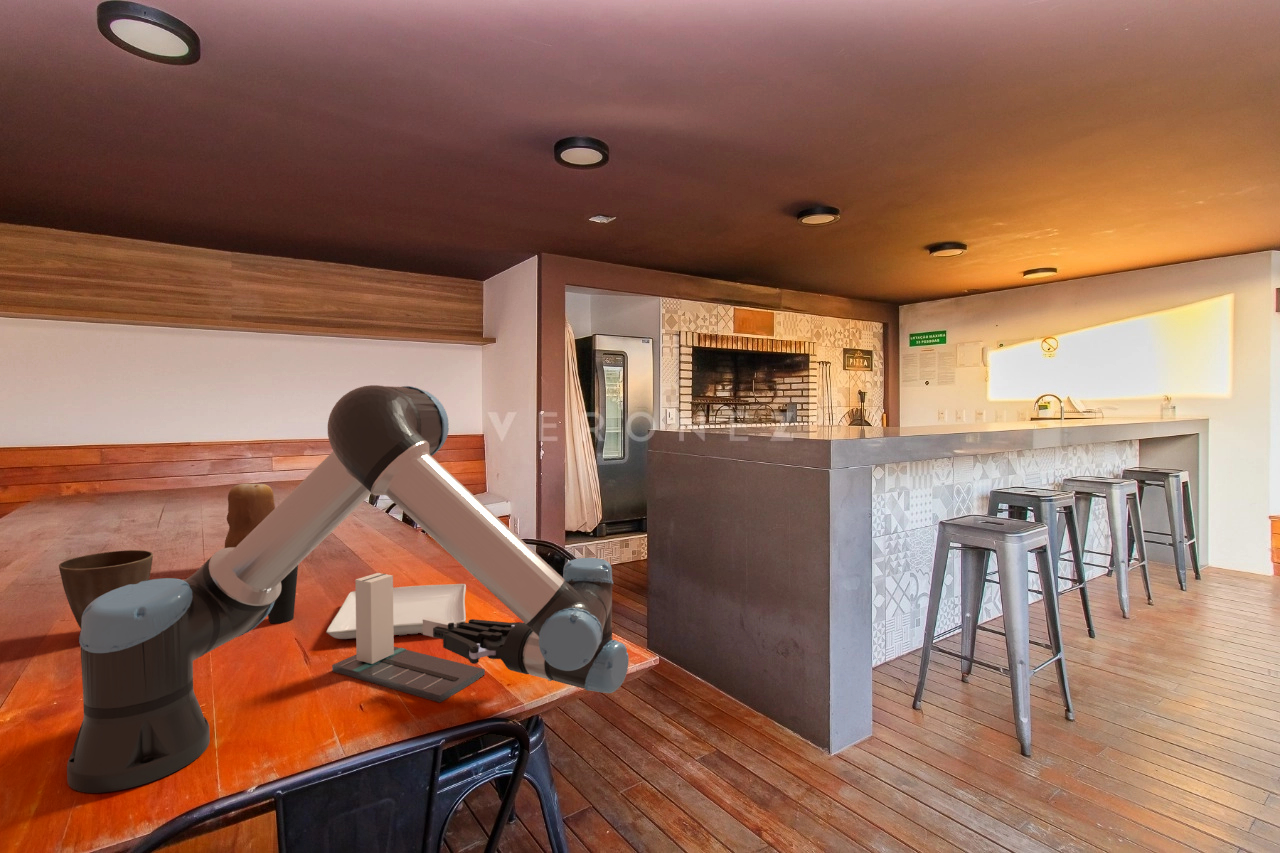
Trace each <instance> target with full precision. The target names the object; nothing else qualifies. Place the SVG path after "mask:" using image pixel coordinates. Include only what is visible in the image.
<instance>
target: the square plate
mask: <svg viewBox="0 0 1280 853" xmlns="http://www.w3.org/2000/svg"><path fill="white" fill-rule="evenodd" d="M466 591H467V585H466V583H455V584H453V583H451V584H448V583H447V584H426V585H412V586H411V585H410V586H399V587H393V625H394V635H399V636H407V634H410V635H418V633H421V634H423V619H425V618H427V617H432V618H437V619H441V620H446V621H451V622H455V623H458V624H459V623H460V622H466V618H467V616H466V614H467V613H466V603H465V602H466V601H465V600H466ZM325 633H326V634H328V635H329V636H331V637H332V638H334V639H339V640H347V639H356V590H354V591H350V592H349V593H348V594H347V596H346V598H345V599H344V602H343V603H342V605H341V606H340V608H339V610H338V611H337V613H336V615H335V616H334V618H333V619H332V621H331V623H330V624H329V626H328V627H327V630H326V632H325Z"/></svg>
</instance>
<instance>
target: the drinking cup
mask: <svg viewBox="0 0 1280 853" xmlns="http://www.w3.org/2000/svg"><path fill="white" fill-rule="evenodd" d="M298 571H299V564H298V565H297V566H296V567H295V568H294V569H293V570H292V571H291V572H290V573H289V574H288V575H287V576H286V577H285V578H284V579H283V580H282V581H281V587H282V588H281V593H280V595H279V596H278V598H277V599H276V600H275V602H274V605H273V607H272V609H271V611H270V613H269V614H268V616H267V617H268V623H269V622H270V623H269V624H273V623H277V624H283V622H284V623H288V622H290V621H292V620H293V619H294V618H295V616H294V615H295V607H296V597H297V596H296V595H297V594H296V593H297V582H298Z"/></svg>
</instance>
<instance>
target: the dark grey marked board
mask: <svg viewBox="0 0 1280 853" xmlns="http://www.w3.org/2000/svg"><path fill="white" fill-rule="evenodd" d="M331 671H332V672H333V673H336V674H341V675H344V676H346V677H350V678H354V679H358V680H360V681H364V682H368V683H371V684H375V685H377V686H382V687H385V688H388V689H392V690H394V691H395V690H396V691H398V692H403V693H406V694H408V695H412V696H415V697H420V698H422V699H425V700H429V701H432V702H437V703H440V704H441V703H442V702H444V701H445V700H447V699H449V698H450V697H452V696H454V695H455V694H457V693H458V692H460V691H462V690H464V689H465V688H467V687H469V686H470V685H473V684H474V683H475V682H476V680H477V681H478V680H480V679H481V678H480V677H482V676H483V675H485V674H486V671H485V668H482V667H478V666H473V665H469V664H466V663H461V662H458V661H453V660H449V659H446V658H442V657H437V656H435V655H434V656H433V655H429V654H425V653H422V652H418V651H413V650H409V649H407V648H403V647H398V646H394V654H392V655H390V656H388V657H386V658H384V659H382V660H379V661H377V662H375V663H373V664H370V663H366V662H363V661H359V660H357V655H356V654H353V655H352V656H349V657H347V658H345V659H343V660H341V661H338V662H336V663H333V664H332V665H331ZM483 677H484V676H483ZM483 677H482V678H483ZM479 678H480V679H479Z"/></svg>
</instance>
